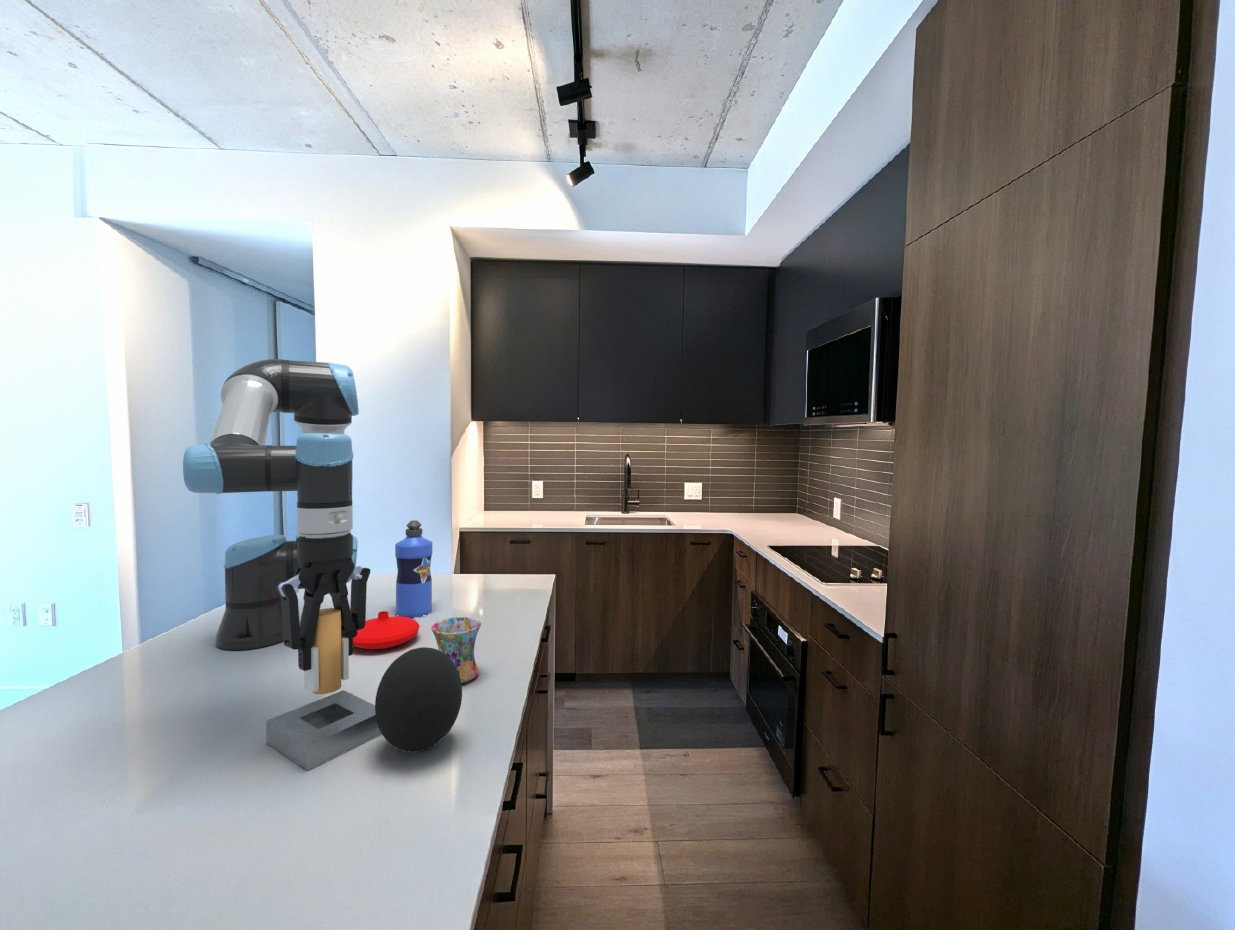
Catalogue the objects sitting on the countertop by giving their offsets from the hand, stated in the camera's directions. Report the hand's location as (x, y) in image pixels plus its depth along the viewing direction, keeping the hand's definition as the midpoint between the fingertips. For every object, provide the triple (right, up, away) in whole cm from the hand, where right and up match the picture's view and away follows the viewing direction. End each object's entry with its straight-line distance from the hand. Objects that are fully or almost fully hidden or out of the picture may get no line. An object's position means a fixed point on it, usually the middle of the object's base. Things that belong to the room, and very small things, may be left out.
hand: (326, 682), depth 81 cm
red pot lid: (-9, -7, +39) cm, 41 cm away
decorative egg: (+15, -9, -1) cm, 18 cm away
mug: (+13, -8, +23) cm, 28 cm away
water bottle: (-10, -6, +60) cm, 61 cm away
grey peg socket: (0, -9, +1) cm, 9 cm away
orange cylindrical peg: (0, -1, 0) cm, 1 cm away
